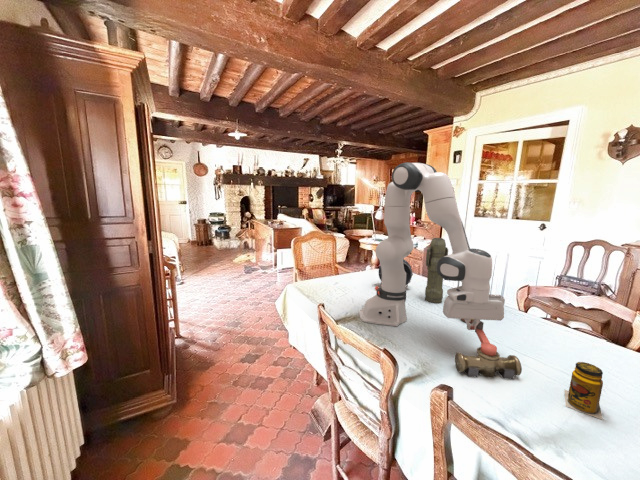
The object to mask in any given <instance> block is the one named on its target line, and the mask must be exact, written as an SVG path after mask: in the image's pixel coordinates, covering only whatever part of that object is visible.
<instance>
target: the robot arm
mask: <svg viewBox="0 0 640 480" xmlns="http://www.w3.org/2000/svg"><path fill="white" fill-rule="evenodd" d="M450 179H451V178H450V177H449V175H448V174H446V173H445V172H440V171H437V169H436V168H435V167H434V166H433V165H430V164H427V163H422V162H409V161H408V162H406V161H405V162H402V163H400V164H398V165H396V166H395V168H394V169H393V171H392V174H391V180H392V181H390V183H388V184H387V187H386V191H385V196H384V197H385V198H384V206H383V207H384V209H383V213H384V216H383V223H384V226H385V228H386V231H387V232H386V233H387V238H384V239H383V240H382V241H379V243H378V245H377V246H376V248H375V256H376V258H377V259H378V260H379V266H380V265H381V271H382V280H380V281H381V282H380V283H381V284H380V286H378V285H376V286H375V287H374V291H375V292H376V294H375V295H373V296H372V297H370V298H367V299H366V301H365V304H364V305H363V307H362V308H360V309H359V311H358V316H359V319H360V320H361V321H362V322H363V323H367V324H368V323H369V324H376V325H383V326H391V327H398V326H399V325H400V324H404V323H406V322H407V321H408V317H407V313H406V312H407V311H406V301H407V288H406V286H407V285H406V272H405V270H404V265H403V259H404V260H405V258H407V257H408V256H410V255H411V253H412V252H413V250H414V246H415V243H414V242H413V240H412V232H411V225H410V219H411V218H410V217H411V216H410V215H411V198H412V195H413V194H414V192H415V193H419V192H421V194H422V197H423V203H424V207H425V212H426V215H427V216H428V219H429V221H431V222H433V223H434V224H436V225H437V226H440V227H441V228H443V229H444V231H445V232H446V233H447V236H448V239H449V243H450V246H451V251H452V252H451V254H448V255H447V256H444V257H442V258H440V259H439V260H438V262H437V272H438V274H439V275H440V276H441V277H442V278H443V280H446V281H454V282H461V285H460V286H456V287H453V288H452V287H451V288H448V289H447V292H446V293H447V296H446V297H445V299H444V300H443V301H444V303H443V307H442V313H443V315H444V316H445V317H446V318H447V319H457V320H459V319H460V320H461V319H464V320H465V322H464V323H466V329H467V330H468V331H475V330H476V326H477V325H478V324H479V323H480V321H498V322H499V321H502V320H503V319H504V318H505V302H506V301H505V300H506V299H505V297H504V296H503V295H501V294H491V293H490V289H491V284H490V281H491V278H492V274H493V257H492V255H491V254H490V253H489V252H487V251H485V250H482V249H479V248H470V244H469V241H468V237H467V233H466V231H465V227H464V224H463V221H462V218H461V216H460V212H459V208H458V204H457V201H456V200H457V199H456V195H455V191H454V187H453V184H452V181H451V180H450ZM471 319H474V322H473V323H469V322H470V321H471Z"/></svg>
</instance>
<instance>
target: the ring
mask: <svg viewBox="0 0 640 480" xmlns="http://www.w3.org/2000/svg"><path fill="white" fill-rule="evenodd" d="M403 265H404V270H405V272H406V286H408V285H409V284H410V283H411V281H412V277H413V275H414V273H413V269H412V266H411V264H410V263H409V262H408V261H407V260H406V259H405V258H404V259H403ZM378 278H379V280H380V281H381V280H382V271H381V265H380V264H379V268H378Z"/></svg>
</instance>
